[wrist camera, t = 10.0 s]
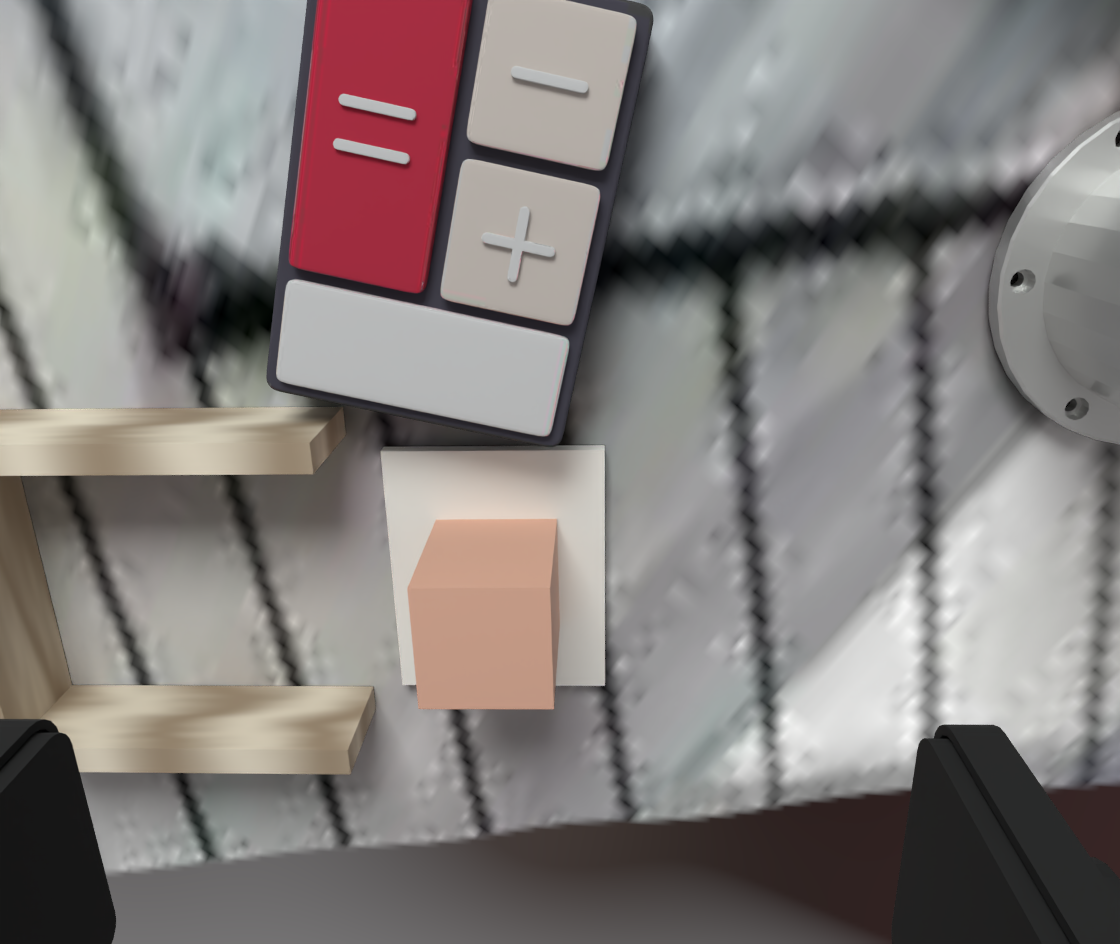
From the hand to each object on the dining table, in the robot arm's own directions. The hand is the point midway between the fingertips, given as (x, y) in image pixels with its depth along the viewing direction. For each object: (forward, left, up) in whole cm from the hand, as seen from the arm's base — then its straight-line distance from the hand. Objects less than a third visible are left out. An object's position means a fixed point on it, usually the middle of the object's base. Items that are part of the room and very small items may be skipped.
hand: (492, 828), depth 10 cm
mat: (+3, +10, -26) cm, 28 cm away
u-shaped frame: (+16, +10, -26) cm, 32 cm away
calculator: (+4, -5, -27) cm, 28 cm away
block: (+3, +10, -26) cm, 28 cm away
